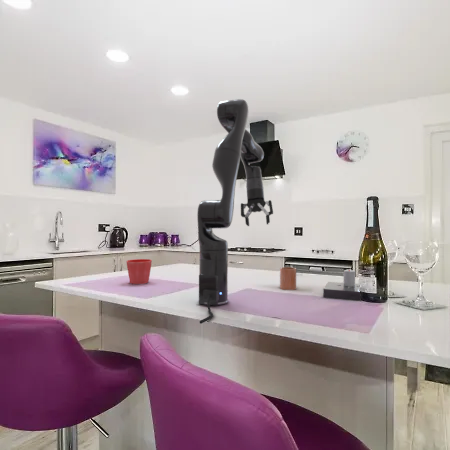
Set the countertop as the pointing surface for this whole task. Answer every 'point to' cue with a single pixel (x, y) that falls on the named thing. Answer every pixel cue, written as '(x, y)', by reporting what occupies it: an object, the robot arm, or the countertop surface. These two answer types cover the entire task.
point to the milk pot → (288, 278)
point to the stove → (341, 291)
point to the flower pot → (139, 270)
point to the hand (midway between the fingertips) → (257, 225)
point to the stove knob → (349, 278)
